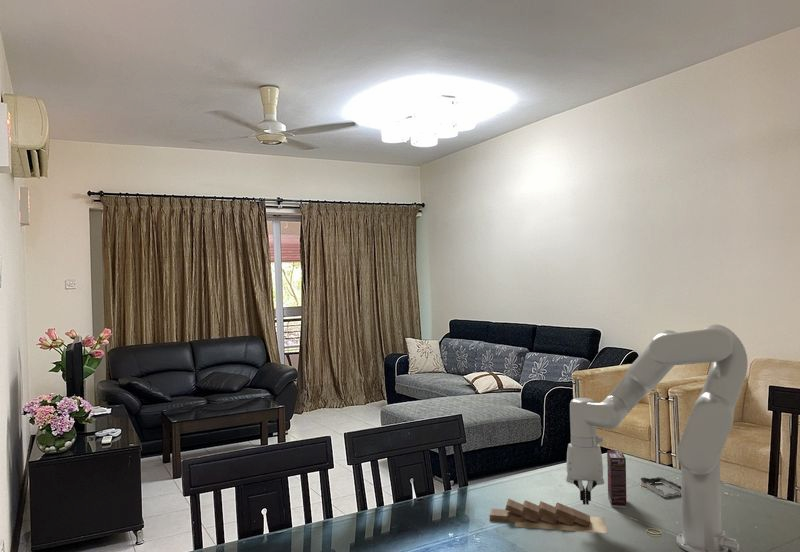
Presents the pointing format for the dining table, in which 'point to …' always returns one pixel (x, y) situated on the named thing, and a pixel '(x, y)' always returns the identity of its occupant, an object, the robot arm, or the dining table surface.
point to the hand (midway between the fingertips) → (585, 502)
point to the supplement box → (616, 478)
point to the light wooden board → (595, 525)
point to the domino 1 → (505, 516)
